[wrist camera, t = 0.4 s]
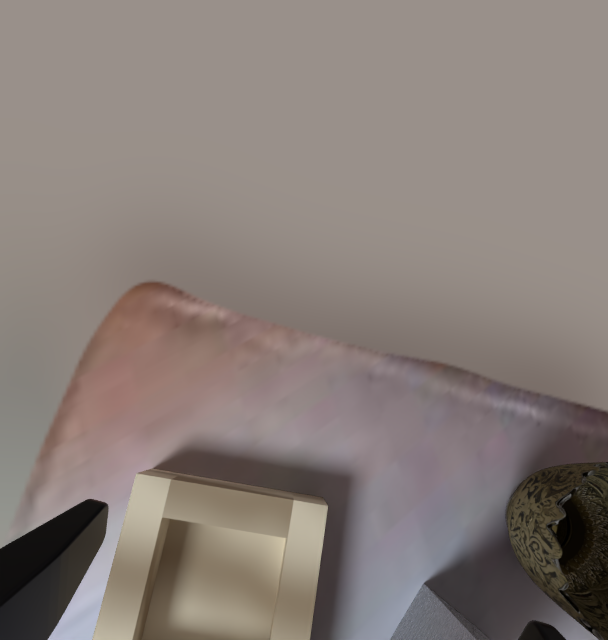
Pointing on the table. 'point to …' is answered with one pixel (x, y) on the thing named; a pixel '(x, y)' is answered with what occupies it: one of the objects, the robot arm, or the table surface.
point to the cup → (565, 538)
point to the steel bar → (434, 621)
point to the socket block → (213, 562)
